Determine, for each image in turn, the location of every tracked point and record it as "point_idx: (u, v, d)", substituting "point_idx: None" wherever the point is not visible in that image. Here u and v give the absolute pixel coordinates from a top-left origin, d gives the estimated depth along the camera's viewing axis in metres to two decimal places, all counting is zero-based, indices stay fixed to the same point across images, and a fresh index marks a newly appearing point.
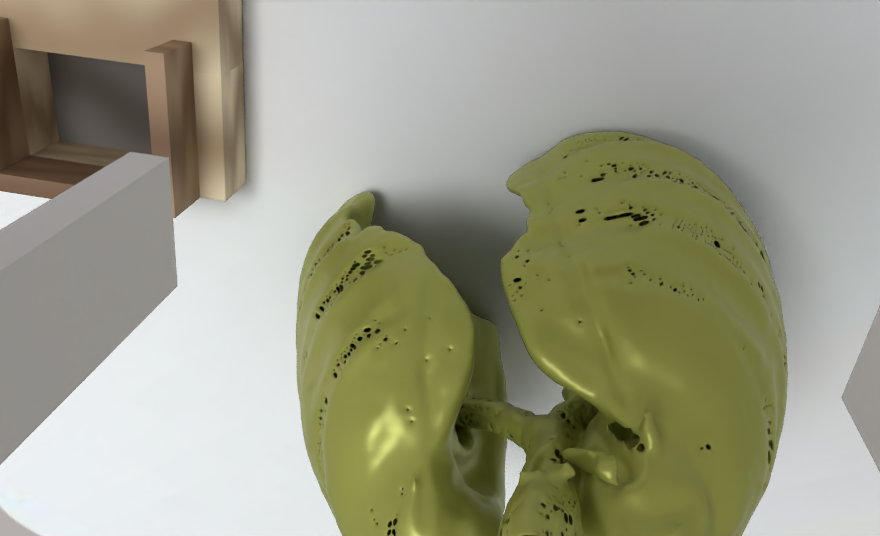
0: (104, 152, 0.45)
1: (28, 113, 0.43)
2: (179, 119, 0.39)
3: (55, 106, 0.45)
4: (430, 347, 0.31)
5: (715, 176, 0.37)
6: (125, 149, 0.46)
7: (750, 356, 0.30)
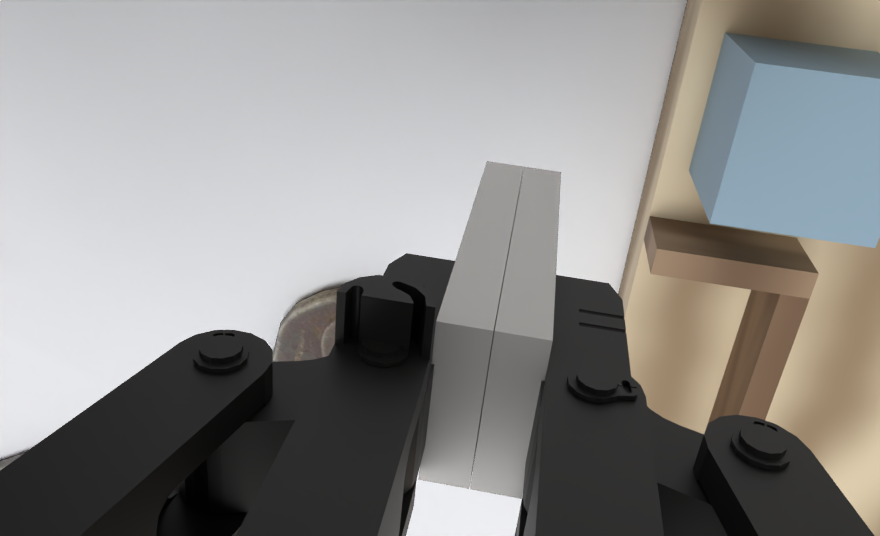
0: None
1: None
2: None
3: None
4: None
5: None
6: None
7: None
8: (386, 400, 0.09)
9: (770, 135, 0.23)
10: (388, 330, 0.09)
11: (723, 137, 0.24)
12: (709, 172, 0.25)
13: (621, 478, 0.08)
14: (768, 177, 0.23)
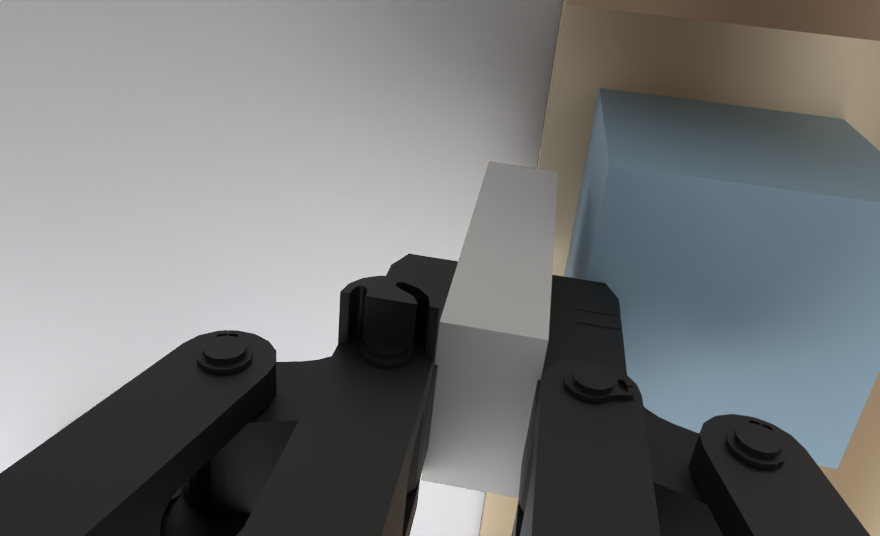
0: None
1: None
2: None
3: None
4: None
5: None
6: None
7: None
8: (390, 401, 0.09)
9: (646, 287, 0.13)
10: (392, 331, 0.09)
11: (579, 275, 0.14)
12: None
13: (617, 477, 0.08)
14: (648, 355, 0.13)
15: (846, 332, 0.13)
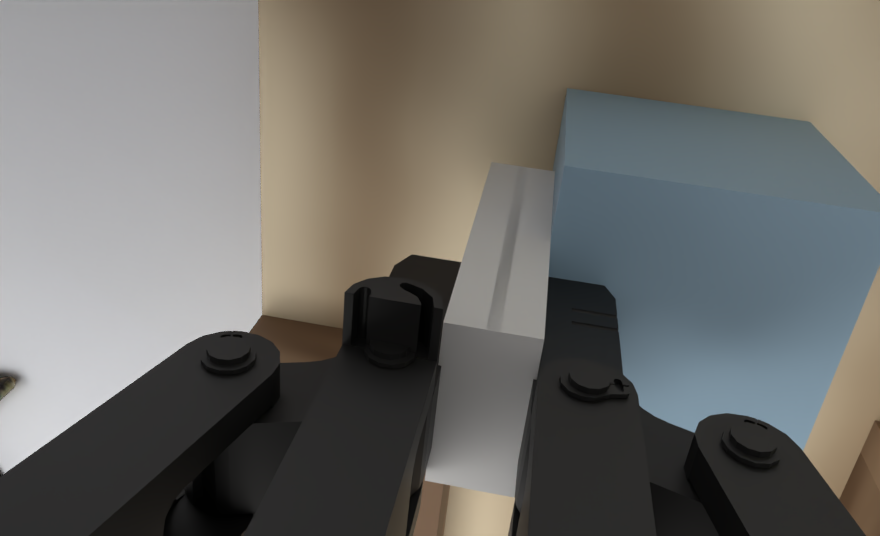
0: None
1: None
2: None
3: None
4: None
5: None
6: None
7: None
8: (393, 402, 0.09)
9: None
10: (396, 332, 0.09)
11: None
12: None
13: (613, 476, 0.08)
14: None
15: (801, 334, 0.13)
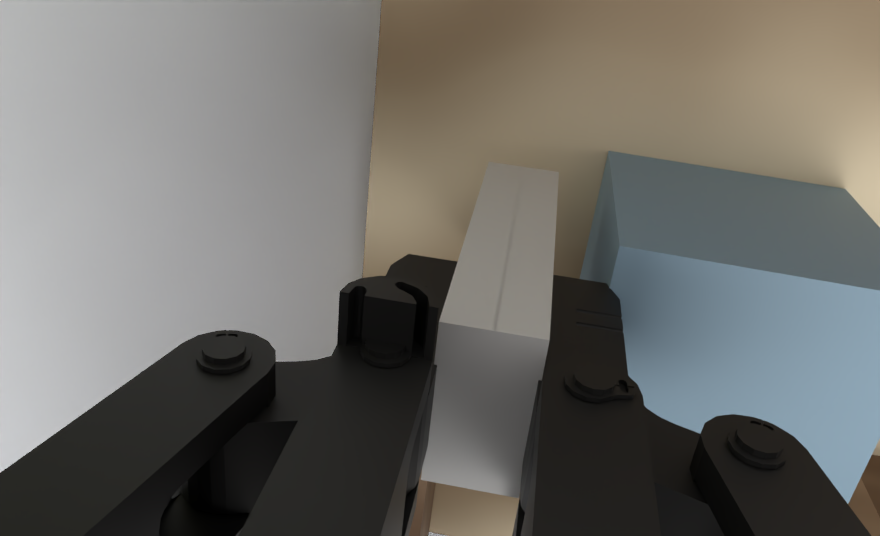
0: None
1: None
2: None
3: None
4: None
5: None
6: None
7: None
8: (389, 401, 0.09)
9: None
10: (391, 331, 0.09)
11: None
12: None
13: (618, 477, 0.08)
14: None
15: (750, 310, 0.12)
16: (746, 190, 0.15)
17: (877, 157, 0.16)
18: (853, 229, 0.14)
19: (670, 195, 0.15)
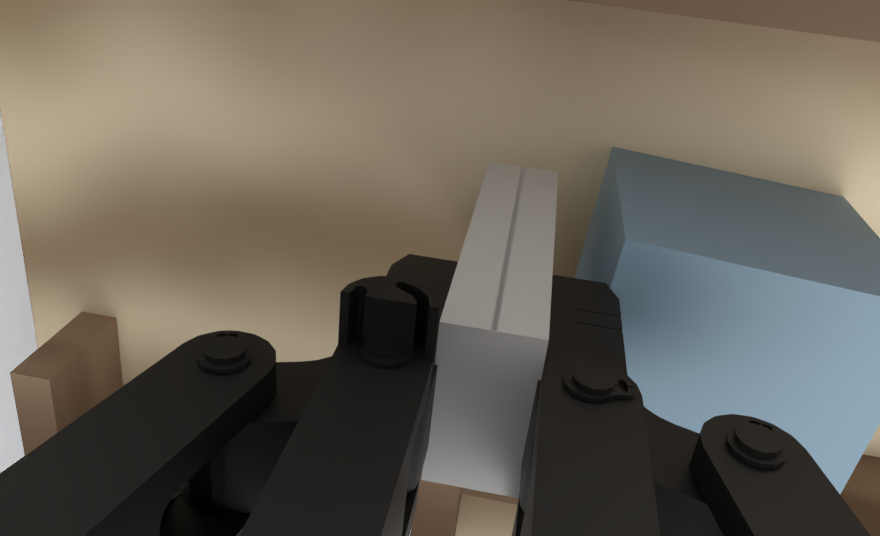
0: None
1: None
2: None
3: None
4: None
5: None
6: None
7: None
8: (389, 401, 0.09)
9: None
10: (391, 331, 0.09)
11: None
12: None
13: (617, 477, 0.08)
14: None
15: (750, 309, 0.12)
16: (748, 193, 0.15)
17: (438, 95, 0.17)
18: (852, 236, 0.14)
19: (673, 192, 0.15)
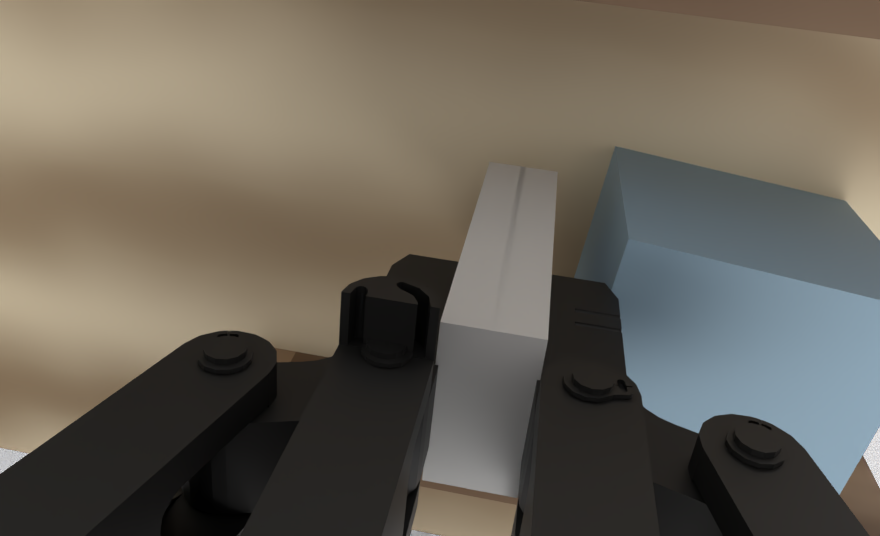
0: None
1: None
2: None
3: None
4: None
5: None
6: None
7: None
8: (390, 401, 0.09)
9: None
10: (392, 331, 0.09)
11: None
12: None
13: (617, 477, 0.08)
14: None
15: (752, 311, 0.12)
16: (749, 195, 0.15)
17: (221, 64, 0.17)
18: (854, 240, 0.14)
19: (676, 193, 0.15)
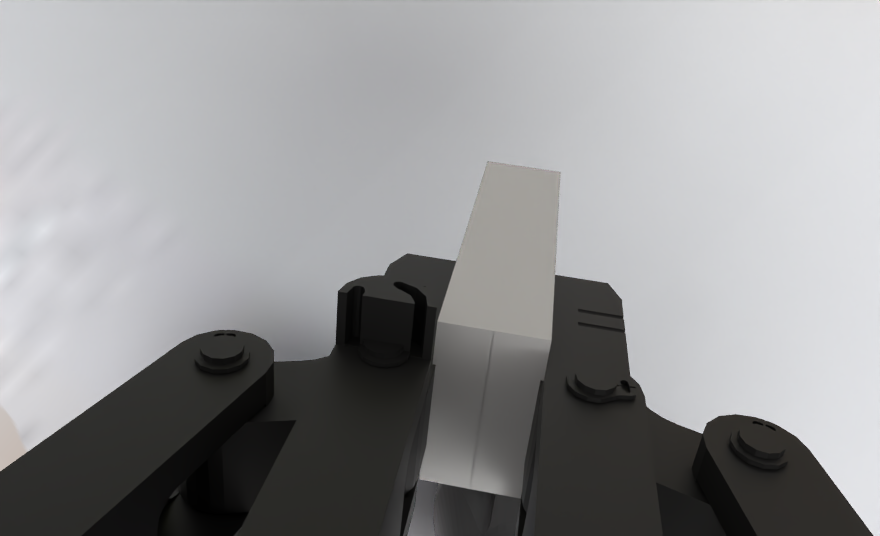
0: None
1: None
2: None
3: None
4: None
5: None
6: None
7: None
8: (387, 400, 0.09)
9: None
10: (389, 330, 0.09)
11: None
12: None
13: (620, 478, 0.08)
14: None
15: None
16: None
17: None
18: None
19: None
